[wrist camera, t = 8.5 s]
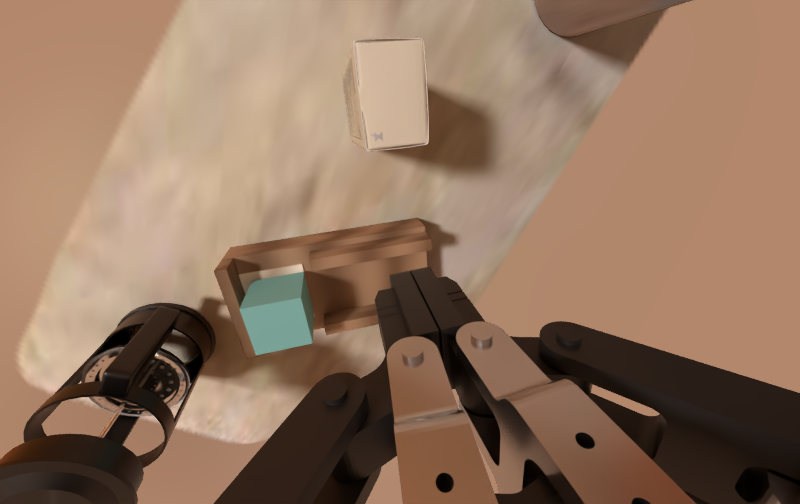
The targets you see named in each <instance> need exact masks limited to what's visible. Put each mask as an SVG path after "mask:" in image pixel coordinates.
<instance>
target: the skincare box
mask: <svg viewBox="0 0 800 504" xmlns="http://www.w3.org/2000/svg"><path fill="white" fill-rule="evenodd" d="M343 84H344V93H345V101H346V108H347V115H348V121H349V127H350V133H351V139H352V142H354V143H355V144H357V145H358V146H360V147H361V148H363V149H365V150H366V151H381V150H391V149H402V148H410V147H417V146H423V145H427V144H428V143H429V111H428V91H427V75H426V62H425V49H424V39H423V38H362V39H355V40H354V42H353V44H352V47H351V50H350V53H349V56H348V59H347V62H346V65H345V68H344V71H343Z"/></svg>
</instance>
